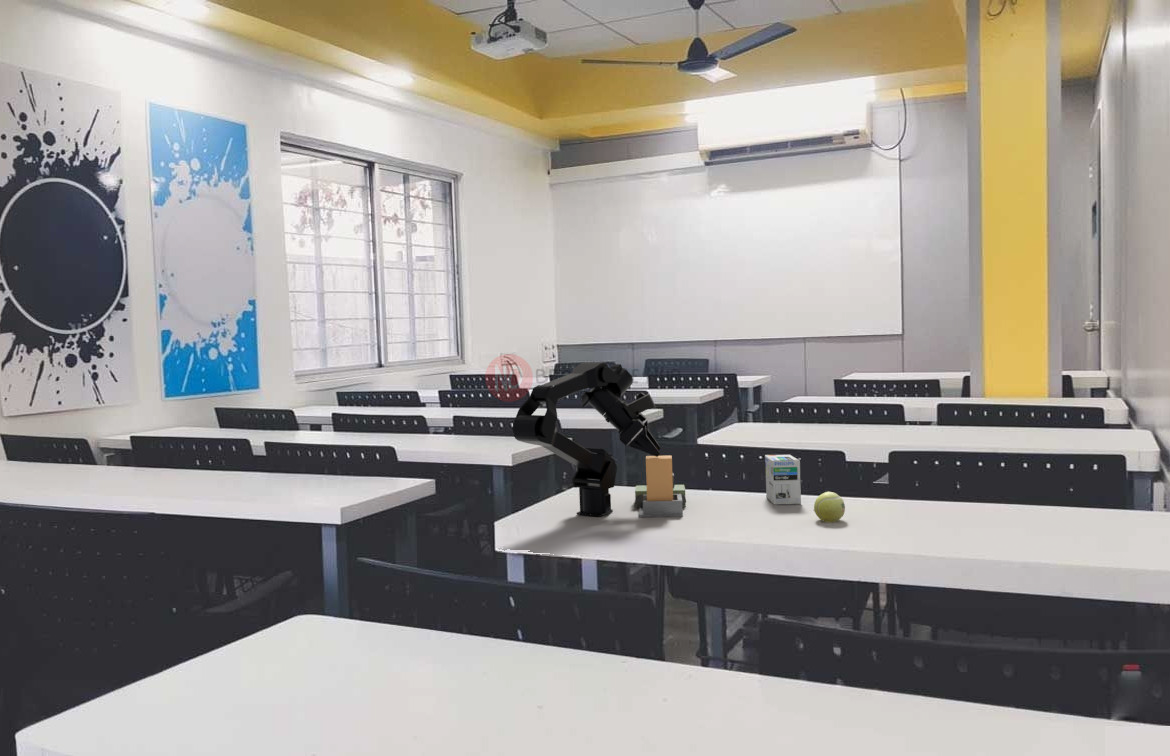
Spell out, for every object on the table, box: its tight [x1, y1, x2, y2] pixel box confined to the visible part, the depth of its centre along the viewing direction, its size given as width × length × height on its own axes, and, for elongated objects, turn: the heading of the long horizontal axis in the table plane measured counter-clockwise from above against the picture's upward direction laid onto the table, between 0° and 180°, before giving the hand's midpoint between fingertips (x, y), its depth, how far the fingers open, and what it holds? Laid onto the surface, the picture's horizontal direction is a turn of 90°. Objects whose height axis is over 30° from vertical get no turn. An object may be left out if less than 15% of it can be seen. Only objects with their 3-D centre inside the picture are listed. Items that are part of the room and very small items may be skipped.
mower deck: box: [634, 472, 687, 509], centre depth 221 cm, size 12×10×7 cm
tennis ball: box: [813, 491, 846, 523], centre depth 196 cm, size 6×7×7 cm
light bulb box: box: [764, 454, 802, 505], centre depth 220 cm, size 11×7×11 cm, turn 179°
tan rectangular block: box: [645, 455, 673, 501], centre depth 211 cm, size 6×5×12 cm
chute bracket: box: [638, 494, 684, 518], centre depth 211 cm, size 10×10×4 cm
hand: (659, 452), depth 214 cm, fingers open, 9 cm apart
